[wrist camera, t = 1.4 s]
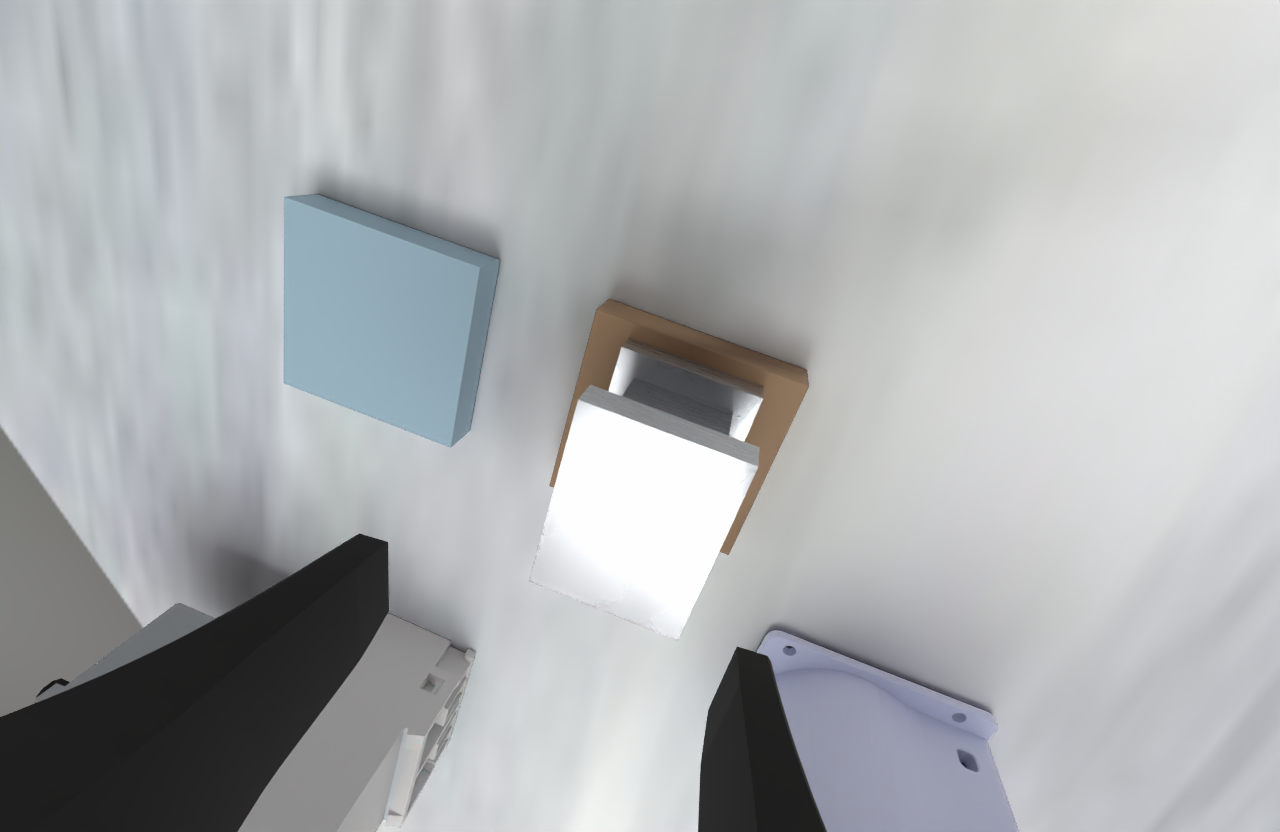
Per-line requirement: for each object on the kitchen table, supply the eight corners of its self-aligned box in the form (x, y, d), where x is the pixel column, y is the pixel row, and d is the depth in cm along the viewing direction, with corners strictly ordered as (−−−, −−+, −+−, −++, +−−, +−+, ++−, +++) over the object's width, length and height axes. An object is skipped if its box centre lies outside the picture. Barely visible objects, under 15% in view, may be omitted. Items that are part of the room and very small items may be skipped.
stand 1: (500, 260, 20) (479, 267, 18) (469, 430, 23) (450, 447, 22) (317, 194, 20) (284, 196, 19) (311, 370, 23) (283, 383, 22)
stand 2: (806, 370, 19) (808, 386, 18) (731, 530, 22) (728, 555, 21) (609, 299, 20) (596, 309, 18) (562, 466, 23) (549, 485, 21)
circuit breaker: (218, 537, 29) (-262, 863, 16) (476, 652, 28) (203, 1097, 15) (219, 635, 32) (-174, 971, 19) (449, 740, 32) (208, 1166, 18)
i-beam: (764, 386, 18) (758, 466, 13) (700, 531, 21) (677, 640, 16) (629, 337, 18) (577, 399, 14) (583, 487, 21) (528, 581, 16)
